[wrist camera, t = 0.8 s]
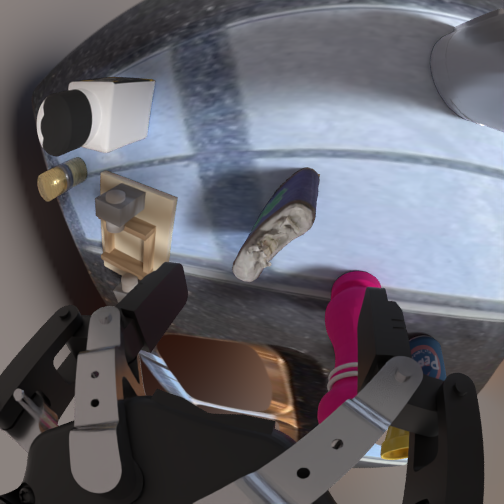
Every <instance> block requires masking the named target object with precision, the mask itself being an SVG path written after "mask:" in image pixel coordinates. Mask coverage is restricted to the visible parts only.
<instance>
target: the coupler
mask: <svg viewBox="0 0 504 504" xmlns="http://www.w3.org/2000/svg"><path fill="white" fill-rule="evenodd" d="M86 178H87V168H86V165H85V163H84V161H83V160H82V159H81V158H79V157H76V158H74V159H72V160H69V161H67V162H65V163H62V164H60V165H58V166H56V167H54V168H52V169H50V170H48V171H46V172H44V173H42V174H40V175H39V176H38V181H37V182H38V183H37V184H38V189H39V192H40V194H41V196H42V197H43V199H44V200H46V201H50V200H52V199H54V198H55V197H57V196H59V195H60V194H62V193H64V192H66V191H68V190H70V189H71V188H73V187H74V186H76V185H78V184H80V183H82V182H83V181H85V180H86Z"/></svg>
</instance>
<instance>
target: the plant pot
mask: <svg viewBox="0 0 504 504" xmlns="http://www.w3.org/2000/svg"><path fill="white" fill-rule="evenodd" d="M408 449H409V431H405V430H402V429H399V428H396V427H392V426H389V427H388V431H387V435H386V438H385V441H384V442H383V443H382V446H381V458H383V459H387V460H397V459H404V458H408Z"/></svg>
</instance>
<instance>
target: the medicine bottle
mask: <svg viewBox="0 0 504 504" xmlns="http://www.w3.org/2000/svg"><path fill="white" fill-rule="evenodd" d="M154 87H155V80H153V79H142V78H126V77H106V78H96V79H88V80H81V81H74V82H71V83H70V84H69V88H68V91H63V92H58V93H54V94H51V95H49V96H48V97H47V98H46V99H45V100H44V101H43V103H42V104H41V106H40V109H39V112H38V116H37V133H38V137H39V141H40V143H41V145H42V147H43V149H44V150H45V151H46V152H47V153H49V154H50V155H52V156H60V155H63V154H65V153H67V152H70V151H72V150H75V149H77V148H80V147H84V148H88V149H92V150H96V151H99V152H103V153H108V152H111V151H113V150H116V149H118V148H121V147H123V146H126V145H128V144H131V143H134V142H137V141H139V140H142V139H145V138H146V137H147V134H148V126H149V119H150V112H151V105H152V99H153V93H154Z"/></svg>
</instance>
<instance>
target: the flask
mask: <svg viewBox="0 0 504 504" xmlns="http://www.w3.org/2000/svg"><path fill="white" fill-rule="evenodd" d="M319 176H320V174H317V172H316V171H315V170H314V169H311V168H308V167H307V168H303V169H301V170H300V171H297V172H296V173H294V174H293V175H292V176H291V177H290V178H289V179H287V180H286V182H284V183H283V184H282V185H281V186H280V188H279V189H278V190H276V191H275V194H274V195H273V197H272V198H271V199H270V201H269V202H268V203H267V205H266V206H265V208H264V209H263V211H262V213H261V214H260V216H259V218H258V220H257V222H256V224H255V226H254V227H253V229H252V231H251V233H250V234H249V236H248V238H247V240H246V241H245V243H244V244H243V246H242V247H241V249H240V251H239V253H238V255H237V257H236V259H235V261H234V262H233V267H232V271H233V273H234V274H235V276H236V277H237V278H238V279H240V280H242V281H246V282H252V281H254V280H255V279H257V278H258V277H259V275H260V274H261V273H262V270H263V269H264V268H265V267H267V266H271V263H270V262H269V261H270V260H272V258H273V257H274V256H275V255H276V254H277V253H278V252H279V251H280V250H281V249H282V248H283V247H284V246H286V245H287V244H288V243H290V242H291V241H292V240H294V239H295V238H297V237H299V236H301V235H303V234H304V233H305V232H307V231H308V230H309V229H310V228H311V227H312V225H313V223H314V220H315V217H316V216H315V215H316V204H317V203H316V202H317V197H318V185H319V180H320V179H319ZM268 262H269V263H268Z"/></svg>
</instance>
